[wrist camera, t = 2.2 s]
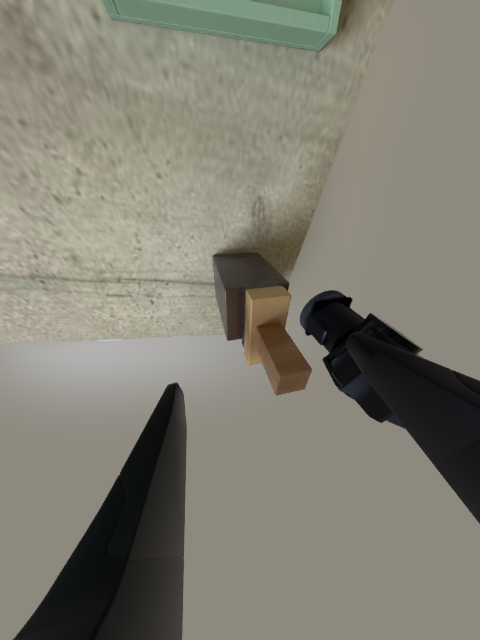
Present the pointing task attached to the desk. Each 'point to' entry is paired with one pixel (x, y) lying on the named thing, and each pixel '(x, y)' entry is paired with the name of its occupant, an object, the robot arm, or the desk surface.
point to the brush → (272, 336)
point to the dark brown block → (239, 285)
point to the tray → (239, 18)
